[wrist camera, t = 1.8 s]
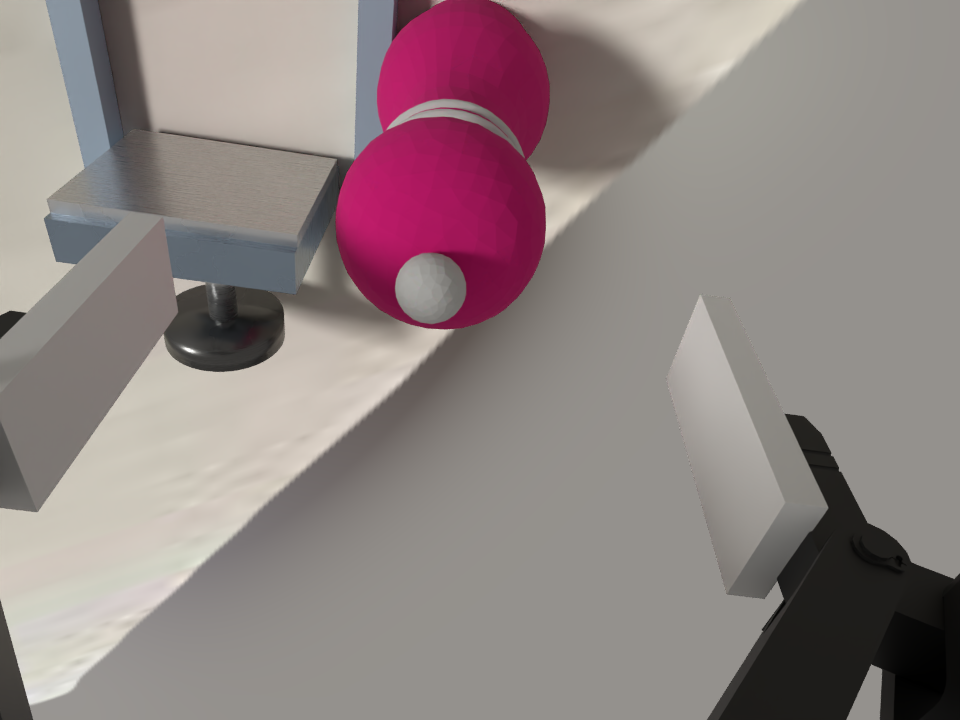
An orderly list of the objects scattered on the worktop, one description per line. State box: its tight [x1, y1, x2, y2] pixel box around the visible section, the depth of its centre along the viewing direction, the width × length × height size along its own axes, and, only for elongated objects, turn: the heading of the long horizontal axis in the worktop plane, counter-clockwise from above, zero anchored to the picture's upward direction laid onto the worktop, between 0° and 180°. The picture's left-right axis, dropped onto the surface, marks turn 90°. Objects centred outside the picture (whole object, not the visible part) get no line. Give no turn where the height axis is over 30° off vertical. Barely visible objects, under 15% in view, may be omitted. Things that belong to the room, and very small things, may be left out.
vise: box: [46, 0, 398, 168], centre depth 28 cm, size 20×15×9 cm
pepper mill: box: [335, 0, 550, 329], centre depth 24 cm, size 7×7×20 cm
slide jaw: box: [44, 129, 339, 372], centre depth 33 cm, size 9×10×9 cm
